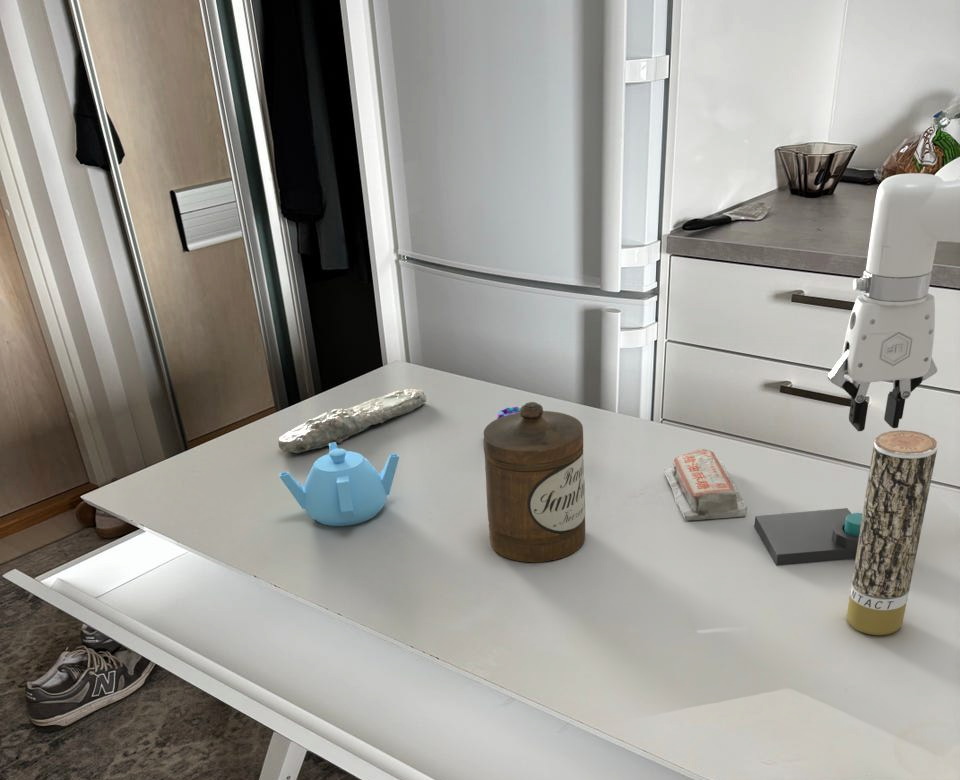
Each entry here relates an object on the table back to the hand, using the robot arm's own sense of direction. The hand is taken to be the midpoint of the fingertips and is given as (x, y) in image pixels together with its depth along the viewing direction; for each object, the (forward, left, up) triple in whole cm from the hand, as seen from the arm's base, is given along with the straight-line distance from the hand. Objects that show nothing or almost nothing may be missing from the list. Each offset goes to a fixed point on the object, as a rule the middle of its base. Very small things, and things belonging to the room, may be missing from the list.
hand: (874, 424), depth 131 cm
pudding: (+46, -52, -19) cm, 72 cm away
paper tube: (+4, +18, -19) cm, 27 cm away
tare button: (0, 0, -16) cm, 16 cm away
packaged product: (+17, -22, -19) cm, 34 cm away
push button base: (+5, -4, -19) cm, 20 cm away
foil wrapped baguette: (+77, -64, -19) cm, 102 cm away
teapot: (+76, -28, -19) cm, 83 cm away
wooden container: (+45, -12, -19) cm, 50 cm away
